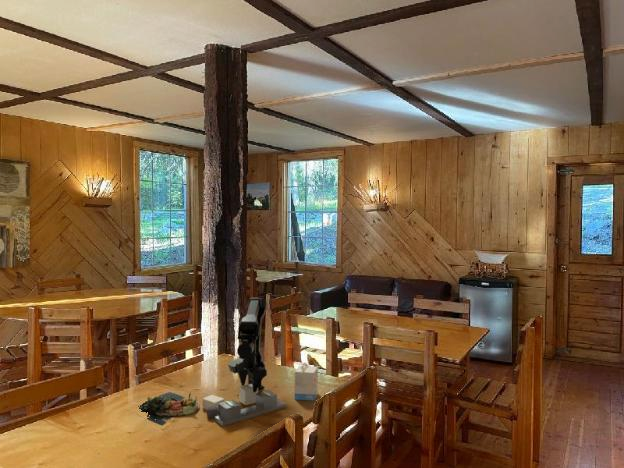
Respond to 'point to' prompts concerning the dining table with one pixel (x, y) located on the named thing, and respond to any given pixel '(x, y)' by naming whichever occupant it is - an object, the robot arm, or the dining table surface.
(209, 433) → the dining table surface
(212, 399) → the block
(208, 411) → the black knob
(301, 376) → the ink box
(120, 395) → the dining table surface
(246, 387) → the loose module
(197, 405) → the plated dish
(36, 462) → the dining table surface
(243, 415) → the rail
